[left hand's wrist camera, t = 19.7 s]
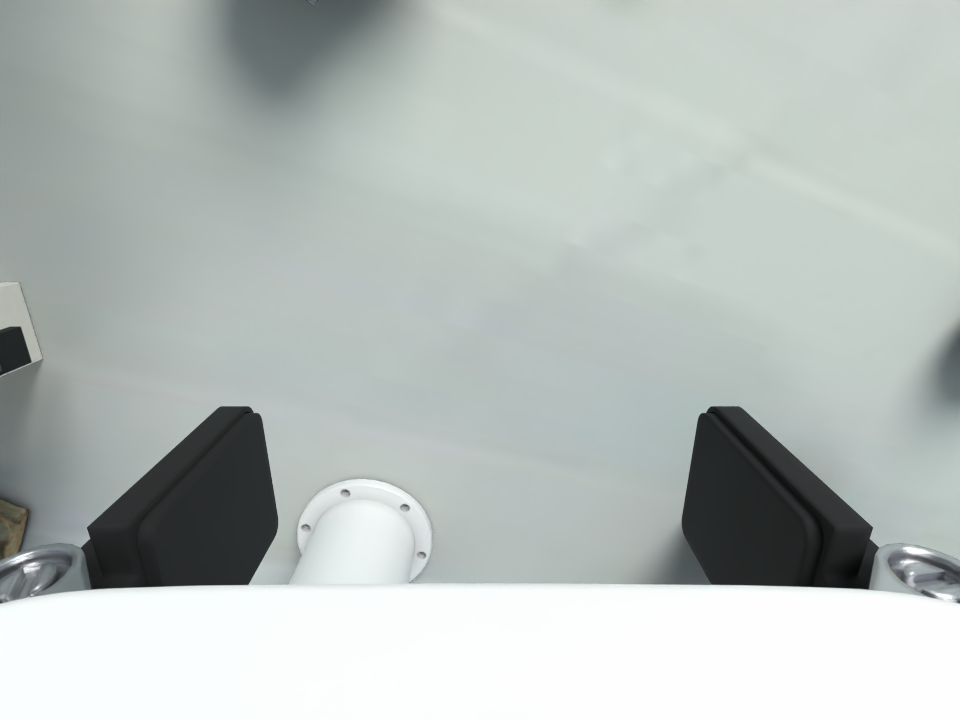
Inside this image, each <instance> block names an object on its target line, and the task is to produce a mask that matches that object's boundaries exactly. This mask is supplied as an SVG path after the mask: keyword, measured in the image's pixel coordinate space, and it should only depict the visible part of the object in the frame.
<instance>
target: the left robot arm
mask: <svg viewBox="0 0 960 720" xmlns="http://www.w3.org/2000/svg"><path fill="white" fill-rule="evenodd" d="M87 529H88V532H89V535H90V538H91V539H90V540H89V541H88V542H87V543H85V544H84V545H83V546H82V547H81V548H80V547H77V546H75V545H73V544H62V543H57V544H49V545H42V546H38V547H35V548H31V549H28V550H24V551H21V552H19V553H17V554H14V555H12V556H9V557H7V558H5V559H3V560H1V561H0V720H960V561H959V560H957V559H955V558H953V557H951V556H948V555H946V554H943V553H941V552H938V551H936V550H932V549H929V548H925V547H922V546H918V545H911V544H903V543H898V544H887V545H885V546H883V547H880V548H879V547H878V546H877V545H876V544H875V543H873V542H872V541H871V540H870V539H869V538H870V535H871V532H872V529H873V527H872V526H871V525H870V524H868V523H867V522H866V521H865V520H864V519H863V518H862V517H861V516H860V515H859V514H858V513H856V512H855V511H854V510H853V509H852V508H851V507H850V506H849V505H848V504H847V503H845V502H844V501H843V500H842V499H841V498H840V497H839V496H838V495H837V494H836V493H834V492H833V491H832V490H831V489H830V488H829V487H828V486H827V485H826V484H825V483H823V482H822V481H821V480H820V479H819V478H818V477H817V476H816V475H815V474H814V473H813V472H811V471H810V470H809V469H808V468H807V467H806V466H805V465H804V464H803V463H802V462H800V461H799V460H798V459H797V458H796V457H795V456H794V455H793V454H792V453H791V452H789V451H788V450H787V449H786V448H785V447H784V446H783V445H782V444H781V443H780V442H778V441H777V440H776V439H775V438H774V437H773V436H772V435H771V434H770V433H769V432H768V431H766V430H765V429H764V428H763V427H762V426H761V425H760V424H759V423H758V422H757V421H755V420H754V419H753V418H752V417H751V416H750V415H749V414H748V413H747V412H746V411H744V410H743V409H742V408H741V407H739V406H714V407H710V408H709V409H708V411H707V412H706V413H702V414H700V416H699V418H698V423H697V429H696V435H695V441H694V447H693V453H692V460H691V466H690V472H689V478H688V484H687V490H686V496H685V503H684V509H683V515H682V529H683V533H684V536H685V538H686V540H687V541H688V543H689V545H690V547H691V548H692V550H693V552H694V554H695V556H696V557H697V559H698V561H699V563H700V565H701V566H702V568H703V570H704V572H705V574H706V575H707V577H708V579H709V581H710V583H711V584H712V585H657V584H545V583H430V584H409V582H411V581H412V580H414V579H415V578H416V577H417V576H418V575H419V574H420V573H421V572H422V570H423V569H424V567H425V566H426V564H427V562H428V559H429V557H430V554H431V548H432V529H431V524H430V521H429V519H428V517H427V515H426V513H425V511H424V510H423V509H422V507H421V506H420V504H419V503H418V502H417V501H416V500H415V499H413V498H412V497H411V496H410V495H409V494H407V493H406V492H404V491H403V490H401V489H400V488H397V487H395V486H393V485H390V484H388V483H385V482H381V481H377V480H369V479H353V480H346V481H342V482H338V483H335V484H333V485H331V486H328V487H326V488H324V489H323V490H322V491H320V492H319V493H317V494H316V495H315V496H314V497H313V498H312V499H311V500H310V502H309V503H308V504H307V506H306V508H305V509H304V511H303V513H302V515H301V518H300V520H299V523H298V528H297V542H298V546H299V550H300V553H301V555H302V556H301V558H300V560H299V563H298V565H297V567H296V569H295V571H294V573H293V576H292V578H291V580H290V582H289V584H288V585H248V584H249V583H250V581H251V579H252V577H253V575H254V574H255V572H256V570H257V568H258V566H259V565H260V563H261V561H262V559H263V557H264V556H265V554H266V552H267V550H268V548H269V547H270V545H271V543H272V541H273V540H274V538H275V536H276V533H277V529H278V515H277V509H276V503H275V496H274V490H273V484H272V478H271V472H270V466H269V460H268V453H267V447H266V441H265V435H264V429H263V423H262V418H261V416H260V414H258V413H254V412H253V411H252V409H251V408H250V407H246V406H221V407H219V408H218V409H217V410H216V411H214V412H213V413H212V414H211V415H210V416H209V417H208V418H207V419H206V420H205V421H203V422H202V423H201V424H200V425H199V426H198V427H197V428H196V429H195V430H194V431H192V432H191V433H190V434H189V435H188V436H187V437H186V438H185V439H184V440H183V441H182V442H180V443H179V444H178V445H177V446H176V447H175V448H174V449H173V450H172V451H171V452H169V453H168V454H167V455H166V456H165V457H164V458H163V459H162V460H161V461H160V462H158V463H157V464H156V465H155V466H154V467H153V468H152V469H151V470H150V471H149V472H147V473H146V474H145V475H144V476H143V477H142V478H141V479H140V480H139V481H138V482H137V483H135V484H134V485H133V486H132V487H131V488H130V489H129V490H128V491H127V492H126V493H124V494H123V495H122V496H121V497H120V498H119V499H118V500H117V501H116V502H115V503H113V504H112V505H111V506H110V507H109V508H108V509H107V510H106V511H105V512H104V513H102V514H101V515H100V516H99V517H98V518H97V519H96V520H95V521H94V522H93V523H92V524H90V525H89V526H88V527H87Z"/></svg>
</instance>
